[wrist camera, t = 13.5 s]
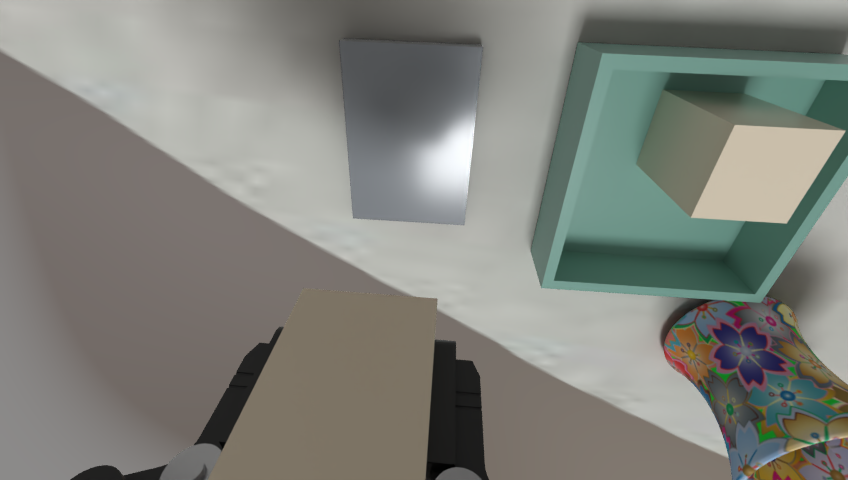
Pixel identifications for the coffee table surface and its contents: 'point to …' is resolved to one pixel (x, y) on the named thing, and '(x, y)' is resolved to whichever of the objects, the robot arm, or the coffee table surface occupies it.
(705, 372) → the floral patterned vase
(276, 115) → the coffee table surface
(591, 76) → the green bin
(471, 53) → the slate board
